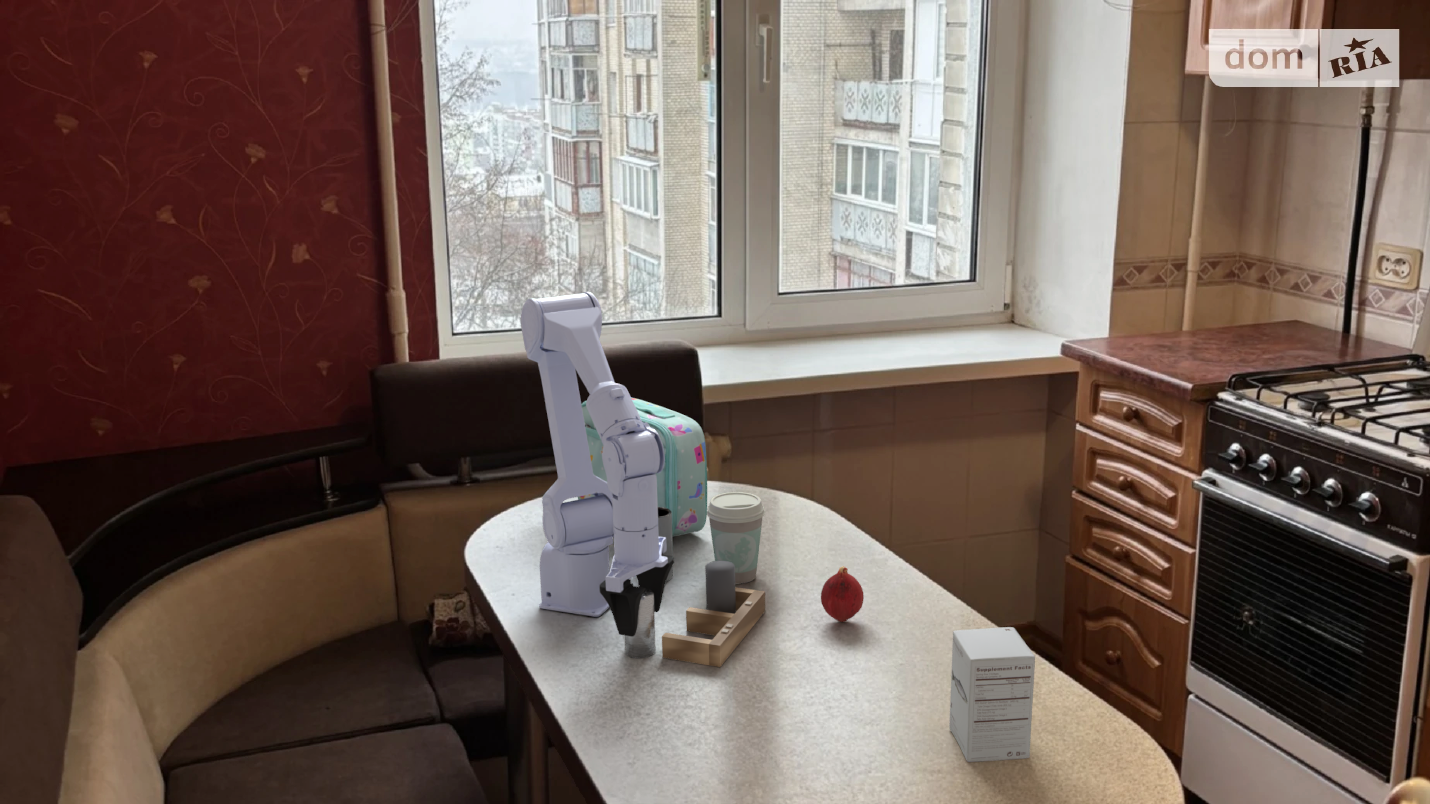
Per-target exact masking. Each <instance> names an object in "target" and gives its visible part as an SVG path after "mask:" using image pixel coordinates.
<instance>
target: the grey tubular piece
mask: <svg viewBox="0 0 1430 804" xmlns="http://www.w3.org/2000/svg"><path fill="white" fill-rule="evenodd" d="M658 533H659V537H666V544H667V551H666V552H665V553H663V555H667V556H672V557H673V558H674V552H673V551H674V549H673V537H672V512H671V510H670V509H668V508H664V507H658ZM673 577H674V565H673V566H672V567H671V569H670V572H669V574H668V577H667V580H666V582H668V581H670V580H671V579H673Z"/></svg>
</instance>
